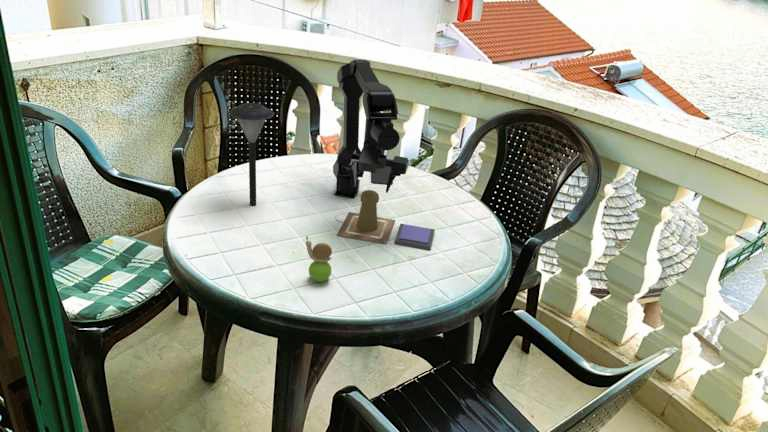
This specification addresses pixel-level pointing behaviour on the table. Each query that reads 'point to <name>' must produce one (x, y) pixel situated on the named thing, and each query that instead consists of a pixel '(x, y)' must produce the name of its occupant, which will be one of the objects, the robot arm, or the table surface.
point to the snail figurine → (319, 261)
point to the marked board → (376, 236)
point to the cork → (368, 211)
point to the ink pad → (414, 236)
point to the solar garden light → (251, 135)
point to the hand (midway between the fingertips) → (370, 189)
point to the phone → (381, 176)
